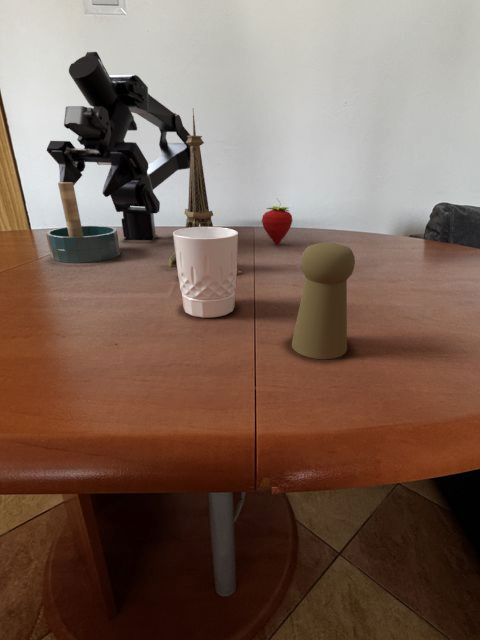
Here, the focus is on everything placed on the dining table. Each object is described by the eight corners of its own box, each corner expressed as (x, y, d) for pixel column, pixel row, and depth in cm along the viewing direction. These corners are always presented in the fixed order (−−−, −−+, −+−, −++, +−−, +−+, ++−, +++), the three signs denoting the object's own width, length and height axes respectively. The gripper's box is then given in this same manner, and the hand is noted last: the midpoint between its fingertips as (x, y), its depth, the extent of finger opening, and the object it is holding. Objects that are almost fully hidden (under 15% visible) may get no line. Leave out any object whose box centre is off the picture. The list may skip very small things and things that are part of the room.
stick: (96, 254, 73) (83, 182, 67) (88, 260, 70) (73, 183, 64) (73, 254, 73) (58, 181, 67) (63, 260, 69) (46, 183, 63)
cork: (287, 334, 44) (293, 238, 39) (338, 333, 44) (351, 238, 39) (296, 359, 38) (304, 251, 33) (354, 358, 39) (370, 251, 34)
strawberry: (256, 243, 89) (256, 197, 84) (281, 240, 92) (283, 196, 88) (270, 248, 84) (272, 200, 80) (296, 244, 88) (299, 199, 83)
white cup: (247, 303, 53) (247, 229, 48) (224, 324, 46) (221, 240, 42) (196, 296, 55) (192, 224, 50) (167, 314, 48) (159, 234, 44)
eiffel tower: (241, 273, 66) (241, 103, 54) (184, 281, 61) (169, 97, 49) (216, 260, 74) (210, 109, 62) (163, 266, 69) (147, 104, 57)
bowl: (128, 250, 79) (124, 226, 77) (109, 266, 68) (104, 237, 66) (68, 250, 79) (63, 225, 76) (40, 265, 68) (33, 236, 65)
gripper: (41, 90, 69) (7, 158, 64) (131, 88, 64) (101, 161, 60) (80, 141, 79) (53, 202, 75) (159, 142, 75) (135, 208, 70)
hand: (83, 194), depth 70 cm, fingers open, 9 cm apart
